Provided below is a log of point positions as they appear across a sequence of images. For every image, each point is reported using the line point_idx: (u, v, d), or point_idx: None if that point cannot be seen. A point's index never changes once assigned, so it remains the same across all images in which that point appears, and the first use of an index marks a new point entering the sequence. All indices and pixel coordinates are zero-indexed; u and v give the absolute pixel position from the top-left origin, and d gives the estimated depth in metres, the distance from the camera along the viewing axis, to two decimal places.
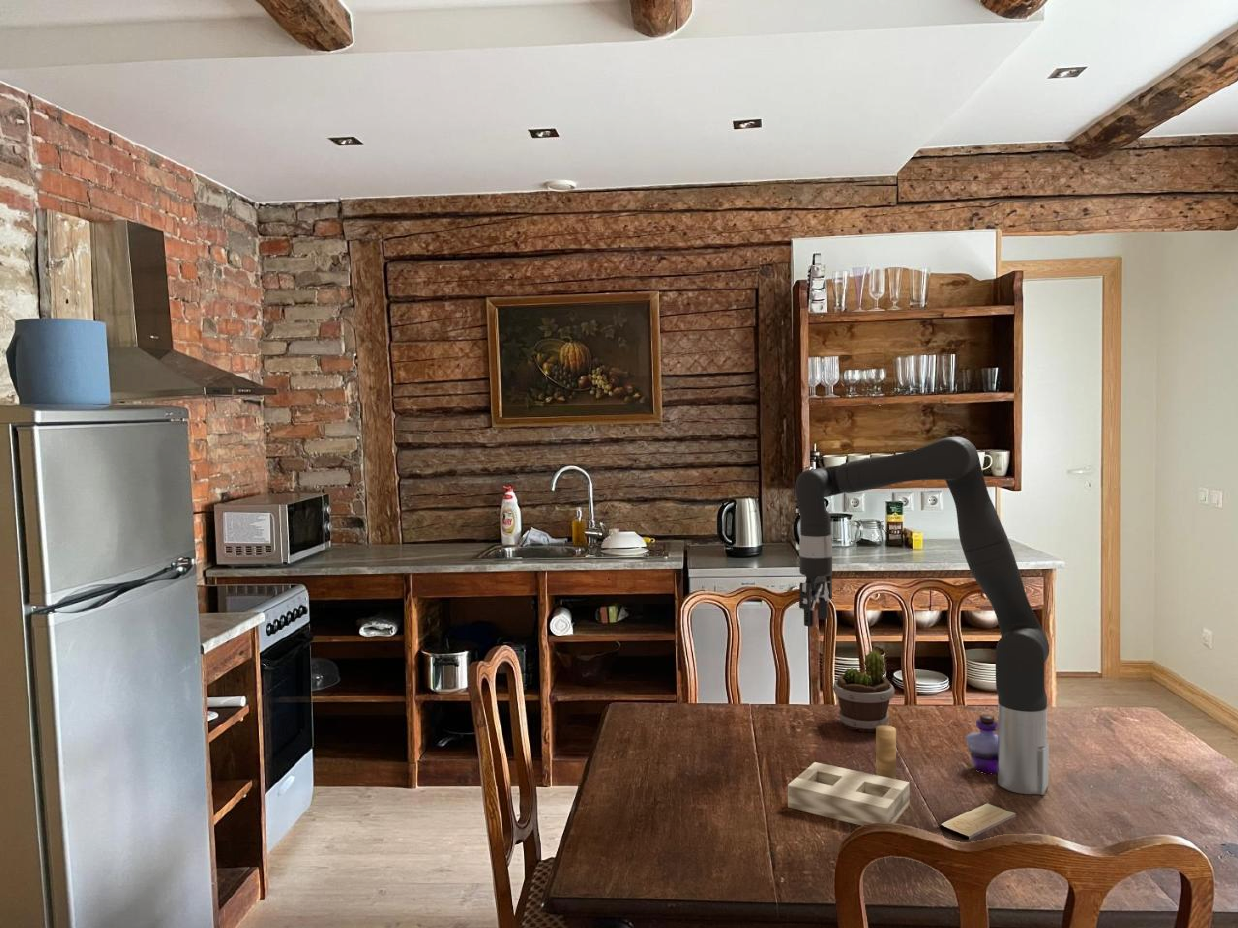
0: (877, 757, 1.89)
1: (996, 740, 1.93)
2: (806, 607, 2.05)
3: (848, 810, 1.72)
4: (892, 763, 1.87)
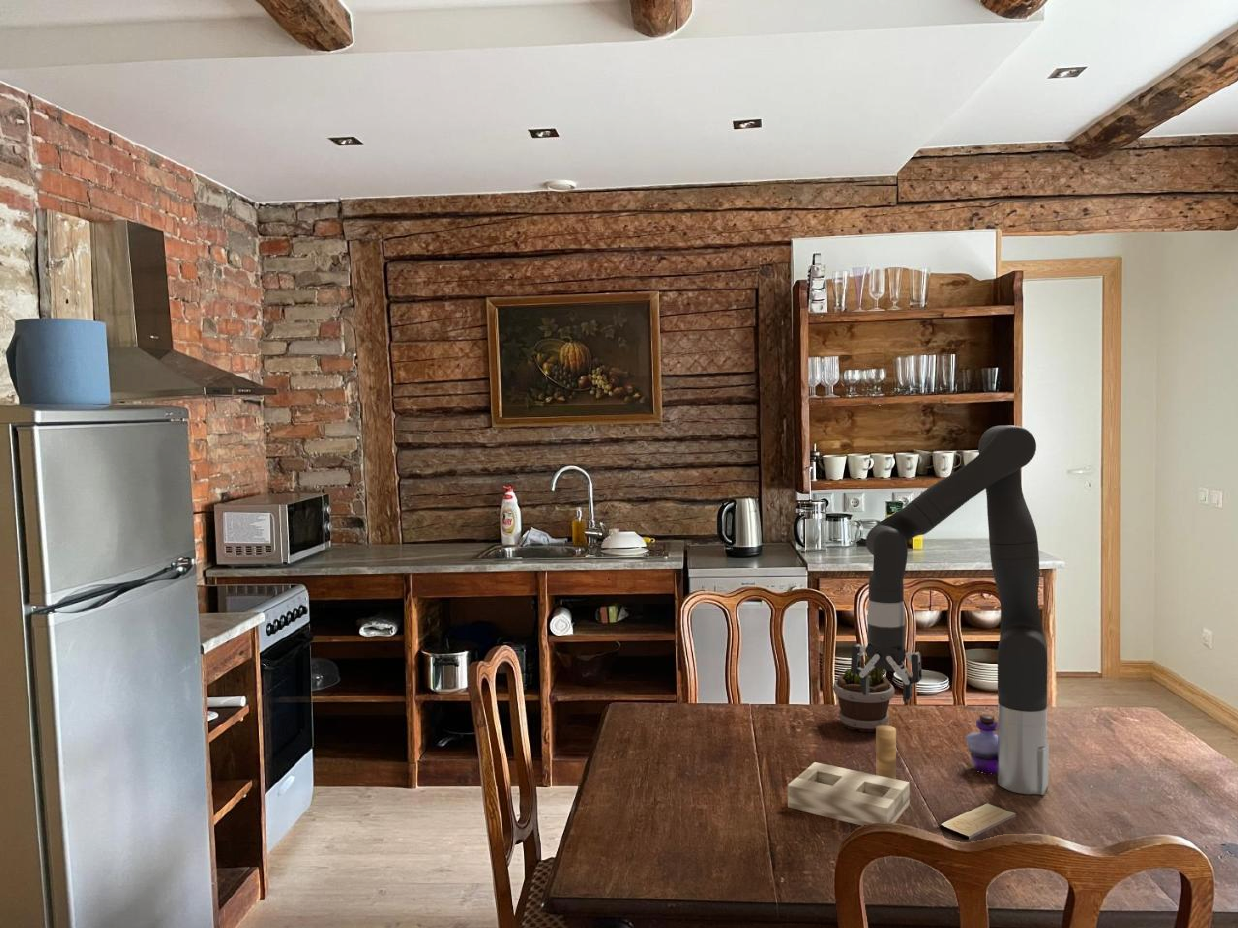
0: (877, 757, 1.89)
1: (996, 740, 1.93)
2: (920, 678, 1.85)
3: (848, 810, 1.72)
4: (892, 763, 1.87)
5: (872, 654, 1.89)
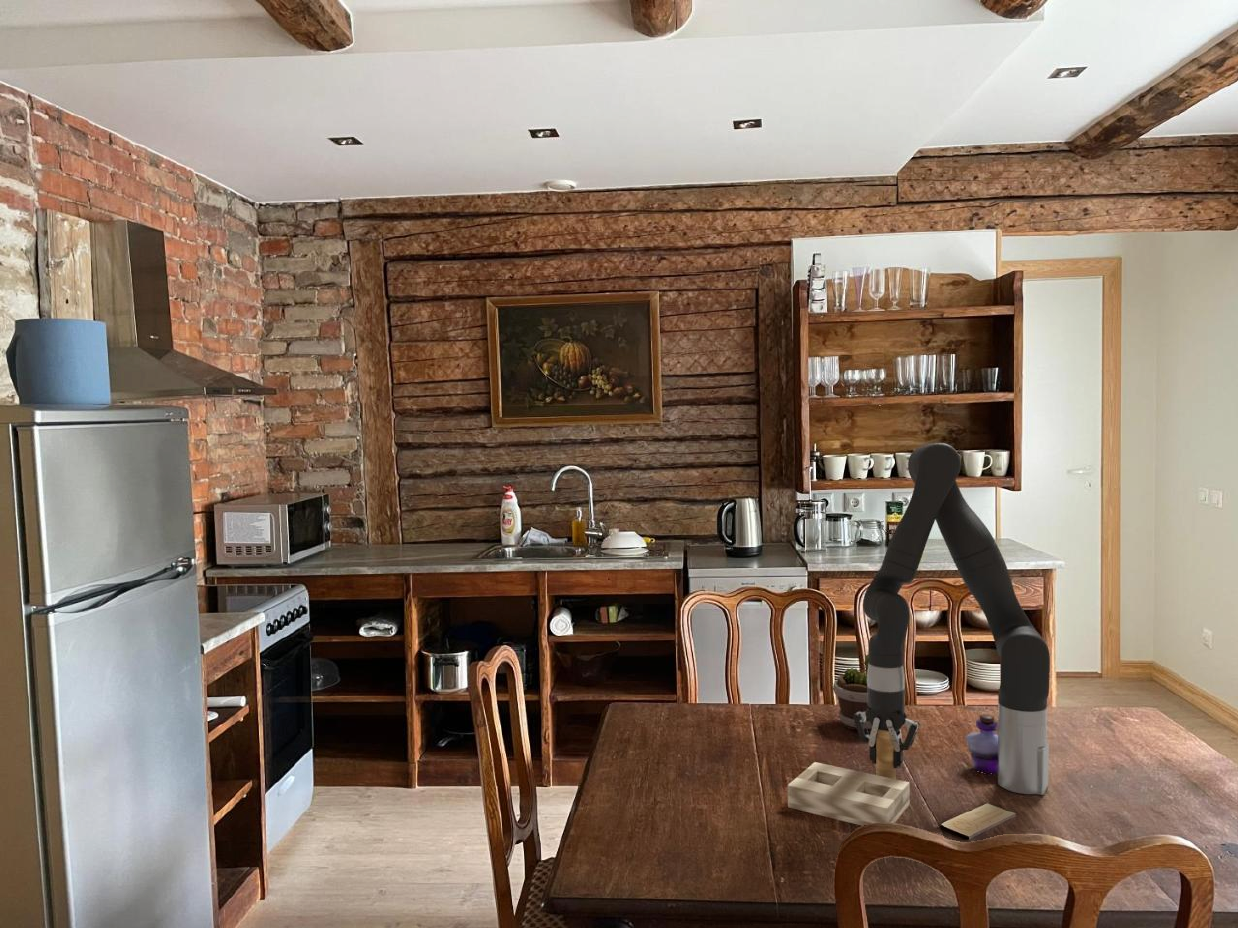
0: (877, 757, 1.89)
1: (996, 740, 1.93)
2: (911, 745, 1.87)
3: (848, 810, 1.72)
4: (892, 763, 1.87)
5: (872, 719, 1.89)
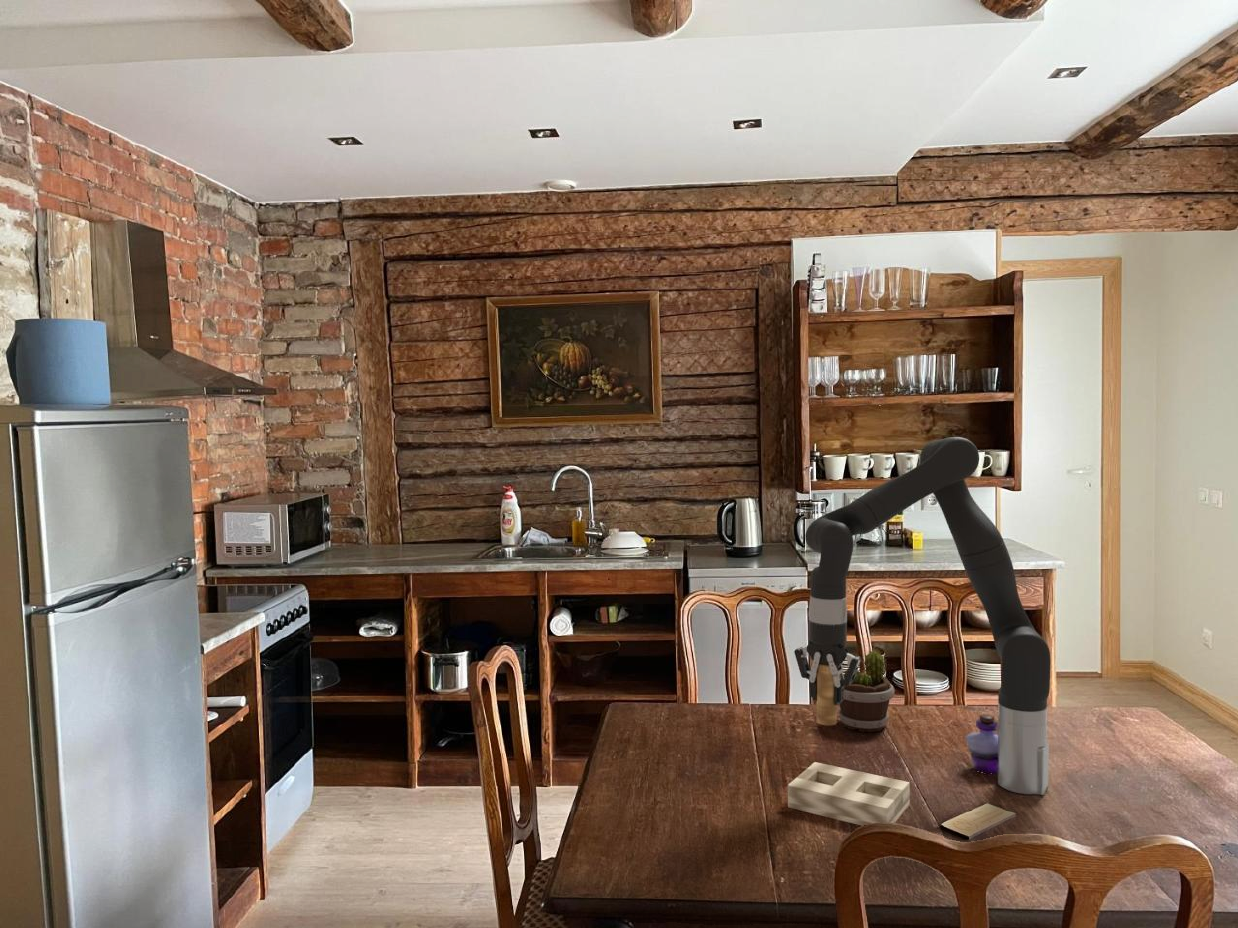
0: (817, 693, 1.82)
1: (996, 740, 1.93)
2: (852, 681, 1.80)
3: (848, 810, 1.72)
4: (832, 699, 1.81)
5: (813, 654, 1.83)
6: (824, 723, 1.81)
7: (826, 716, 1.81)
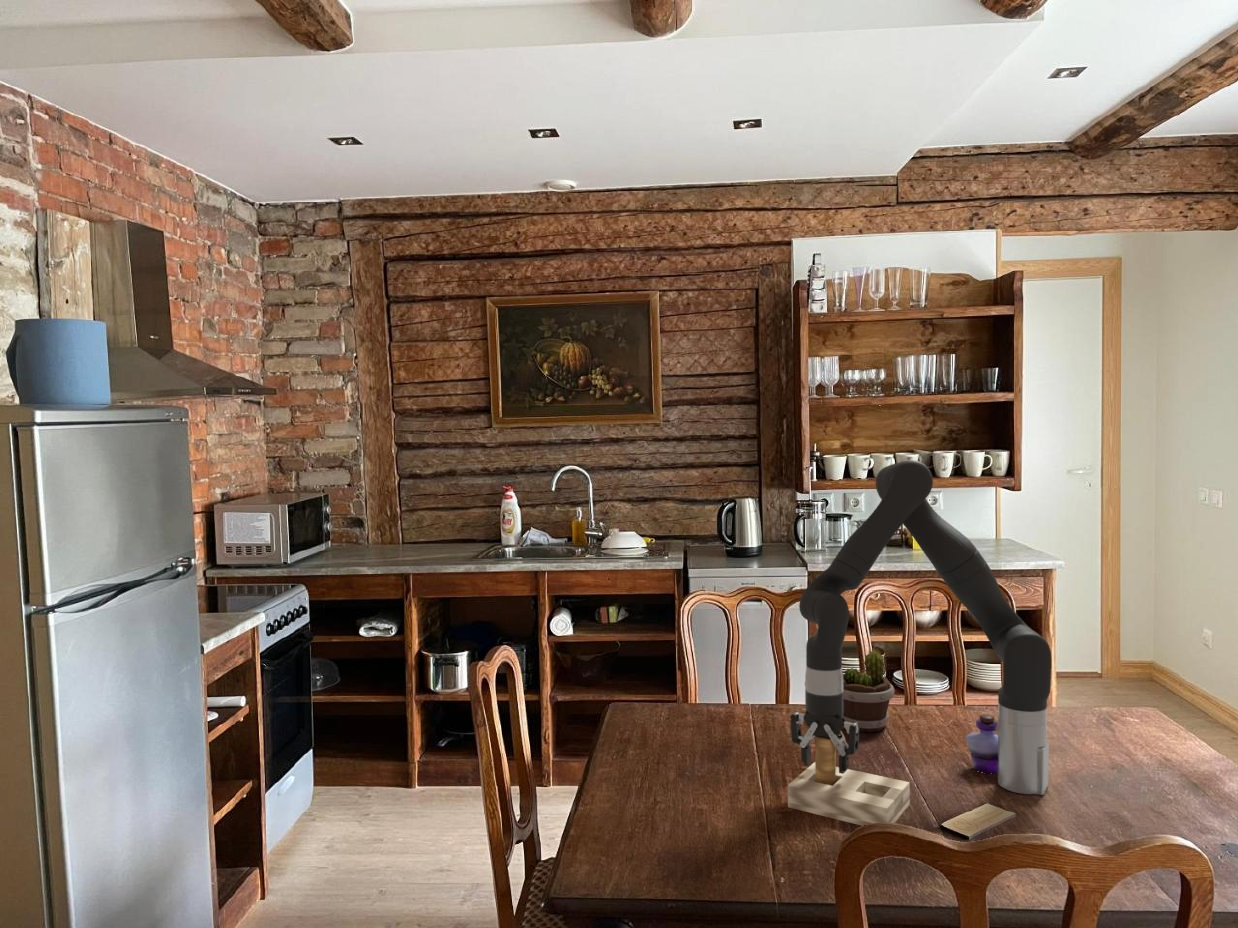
0: (816, 766, 1.82)
1: (996, 740, 1.93)
2: (857, 749, 1.79)
3: (848, 810, 1.72)
4: (831, 772, 1.80)
5: (810, 722, 1.82)
6: None
7: None
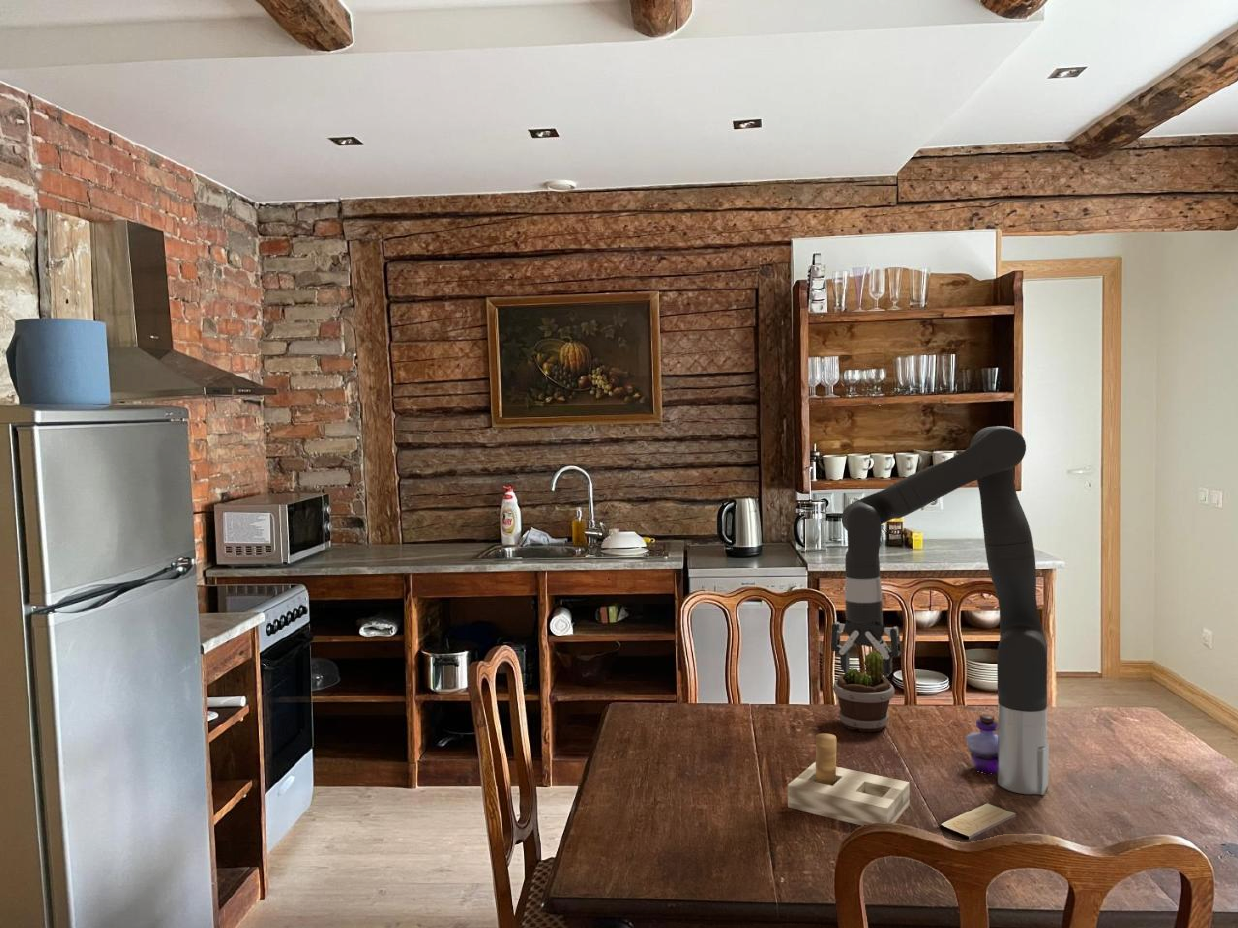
0: (816, 766, 1.82)
1: (996, 740, 1.93)
2: (900, 653, 1.86)
3: (848, 810, 1.72)
4: (831, 772, 1.80)
5: (851, 631, 1.90)
6: None
7: None
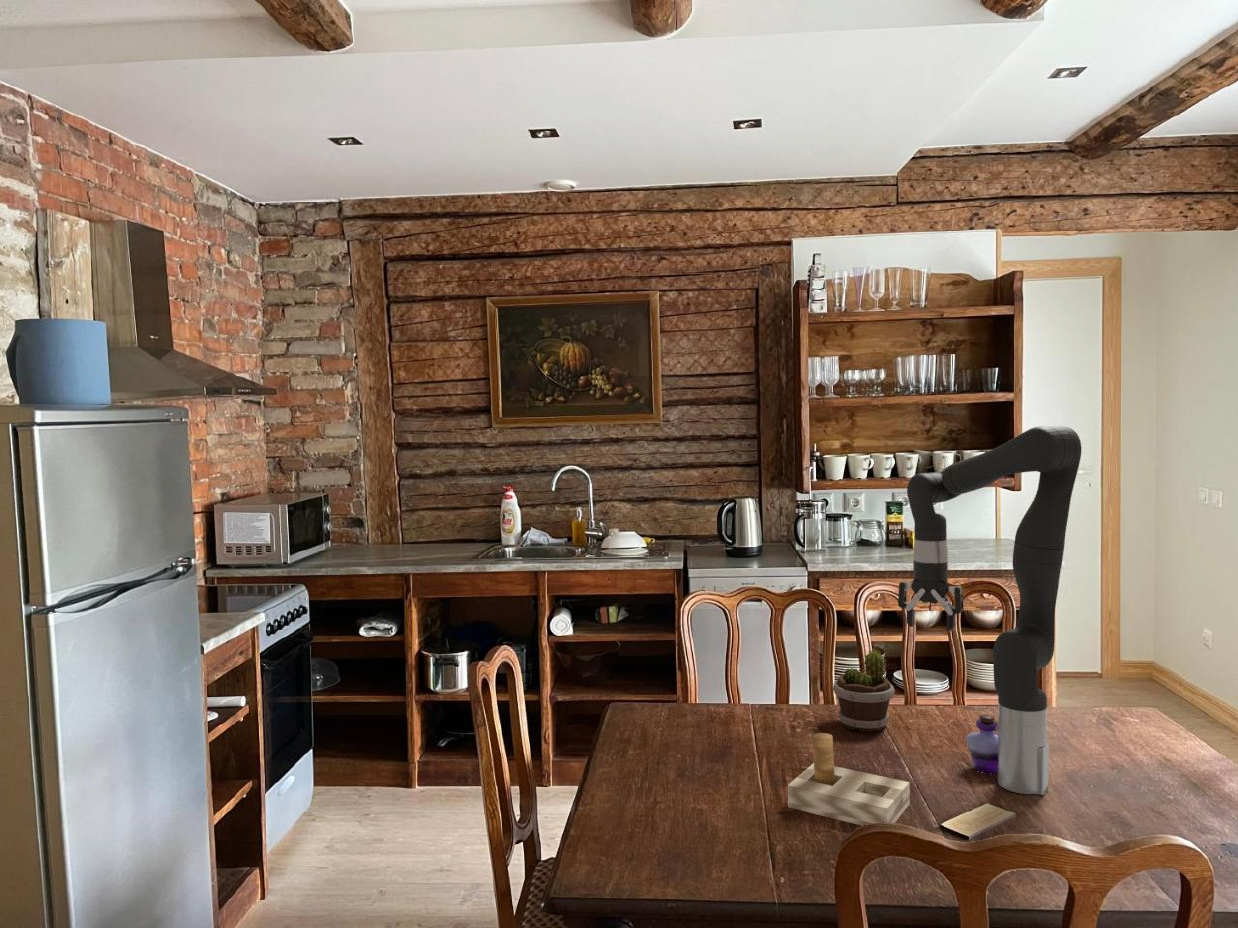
0: (814, 766, 1.82)
1: (996, 740, 1.93)
2: (962, 609, 2.04)
3: (848, 810, 1.72)
4: (829, 772, 1.80)
5: (918, 589, 2.08)
6: None
7: None
